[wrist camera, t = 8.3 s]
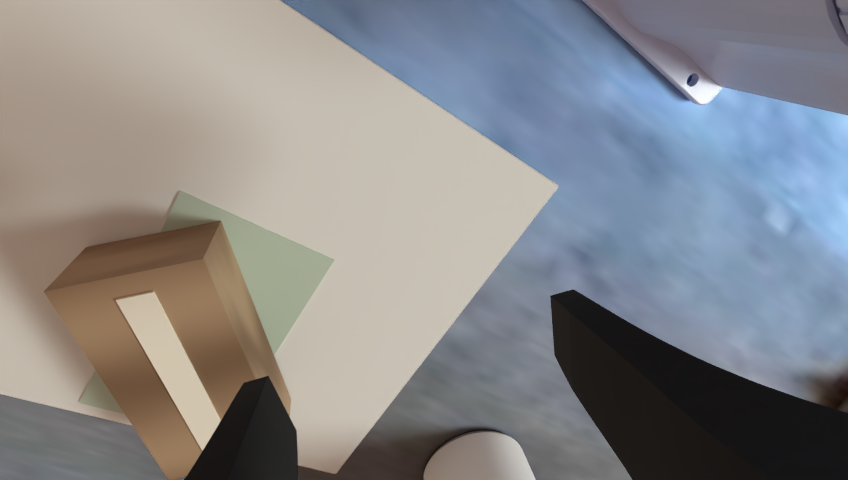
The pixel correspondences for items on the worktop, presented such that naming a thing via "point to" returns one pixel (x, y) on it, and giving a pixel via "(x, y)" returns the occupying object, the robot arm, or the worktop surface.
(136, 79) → the mat
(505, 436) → the can
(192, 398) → the tissue box
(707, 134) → the worktop surface
